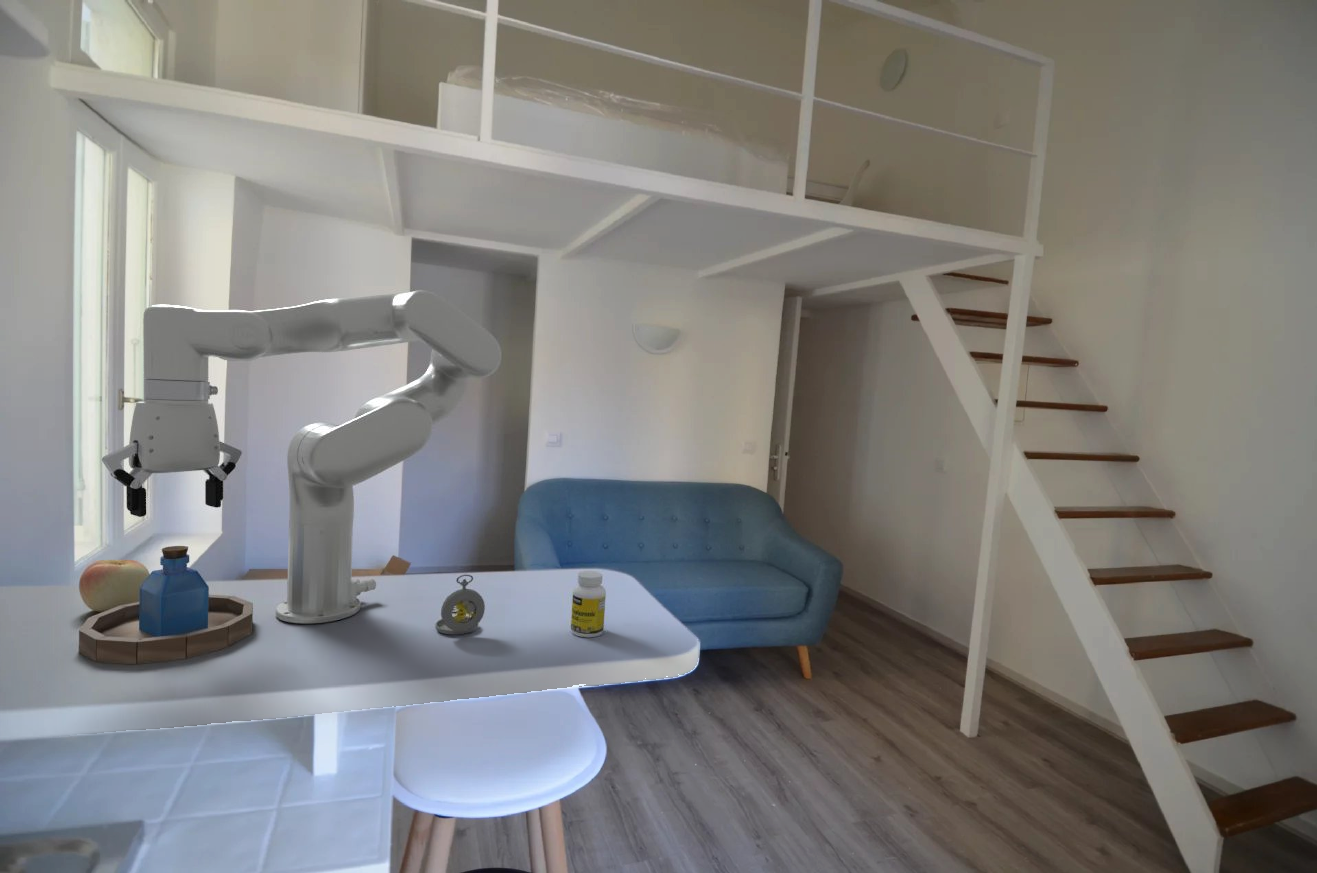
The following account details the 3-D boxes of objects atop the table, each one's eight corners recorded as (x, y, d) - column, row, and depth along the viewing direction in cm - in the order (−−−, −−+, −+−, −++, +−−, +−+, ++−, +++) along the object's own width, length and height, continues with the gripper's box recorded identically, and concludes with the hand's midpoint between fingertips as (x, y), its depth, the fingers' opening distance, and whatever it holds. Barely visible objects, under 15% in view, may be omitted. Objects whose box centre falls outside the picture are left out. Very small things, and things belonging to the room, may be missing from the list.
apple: (68, 611, 104) (68, 561, 104) (132, 597, 112) (133, 551, 112) (98, 623, 100) (98, 571, 100) (162, 607, 108) (163, 559, 108)
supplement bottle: (564, 634, 107) (567, 575, 107) (580, 624, 112) (583, 567, 112) (594, 640, 105) (597, 580, 105) (609, 630, 110) (612, 572, 110)
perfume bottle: (208, 627, 98) (209, 548, 98) (160, 639, 93) (161, 555, 92) (186, 618, 102) (187, 541, 101) (138, 629, 96) (140, 548, 95)
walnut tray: (210, 604, 111) (210, 587, 111) (279, 632, 101) (279, 613, 101) (56, 639, 94) (56, 618, 93) (121, 676, 84) (121, 653, 83)
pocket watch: (455, 619, 111) (458, 560, 111) (495, 630, 108) (498, 569, 107) (418, 634, 104) (420, 571, 103) (459, 645, 100) (462, 580, 100)
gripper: (226, 393, 104) (226, 500, 106) (90, 390, 90) (92, 515, 91) (253, 395, 101) (252, 506, 102) (115, 393, 86) (117, 523, 87)
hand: (177, 510), depth 96 cm, fingers open, 9 cm apart
